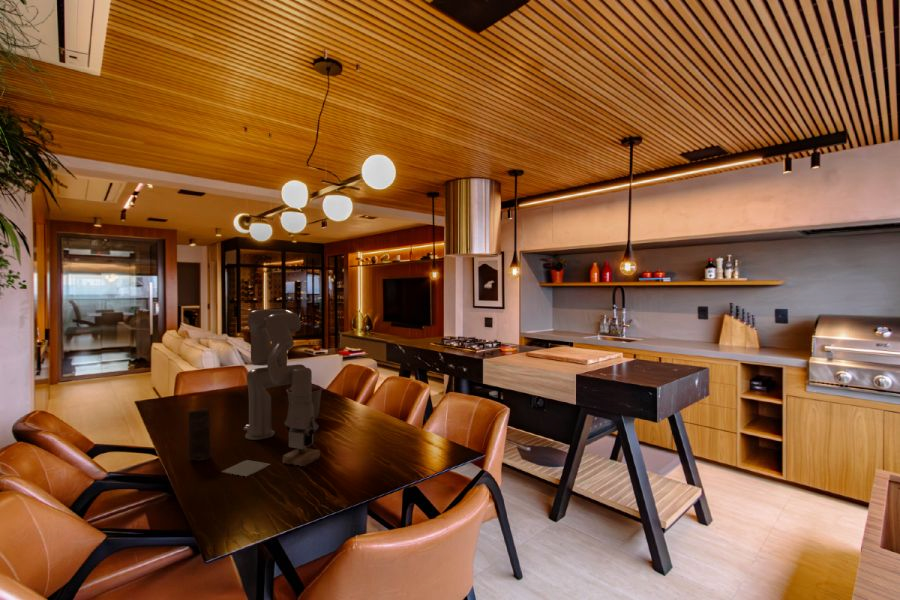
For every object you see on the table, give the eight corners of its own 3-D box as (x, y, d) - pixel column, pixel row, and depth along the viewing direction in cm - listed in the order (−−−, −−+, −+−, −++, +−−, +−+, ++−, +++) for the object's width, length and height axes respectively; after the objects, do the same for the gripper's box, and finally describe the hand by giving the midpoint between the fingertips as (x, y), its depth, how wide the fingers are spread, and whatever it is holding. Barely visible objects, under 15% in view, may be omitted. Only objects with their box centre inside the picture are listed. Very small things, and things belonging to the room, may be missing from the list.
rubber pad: (221, 472, 159) (221, 471, 159) (246, 460, 171) (246, 459, 171) (246, 477, 155) (246, 476, 155) (270, 465, 167) (270, 463, 167)
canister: (308, 413, 239) (308, 375, 239) (329, 419, 229) (329, 379, 228) (279, 421, 224) (279, 381, 224) (300, 427, 214) (300, 385, 214)
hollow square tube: (288, 446, 170) (288, 431, 170) (299, 441, 176) (299, 426, 176) (302, 449, 167) (302, 433, 167) (313, 443, 174) (313, 428, 174)
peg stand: (282, 463, 168) (282, 442, 168) (299, 454, 178) (299, 435, 178) (303, 466, 165) (303, 445, 165) (320, 457, 174) (320, 437, 174)
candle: (187, 463, 167) (187, 412, 167) (189, 457, 174) (189, 408, 174) (210, 460, 171) (210, 410, 171) (210, 454, 177) (210, 406, 177)
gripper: (277, 399, 171) (276, 443, 171) (313, 403, 165) (313, 450, 165) (290, 394, 178) (289, 437, 178) (325, 399, 172) (325, 443, 172)
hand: (301, 443), depth 172 cm, fingers closed on hollow square tube, 6 cm apart
